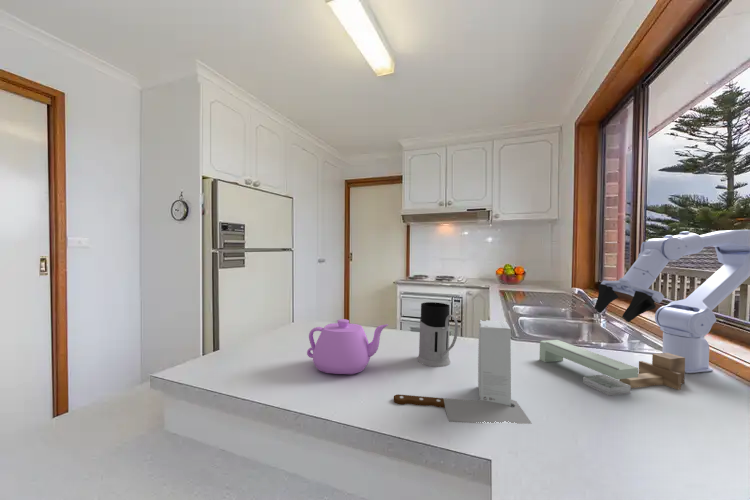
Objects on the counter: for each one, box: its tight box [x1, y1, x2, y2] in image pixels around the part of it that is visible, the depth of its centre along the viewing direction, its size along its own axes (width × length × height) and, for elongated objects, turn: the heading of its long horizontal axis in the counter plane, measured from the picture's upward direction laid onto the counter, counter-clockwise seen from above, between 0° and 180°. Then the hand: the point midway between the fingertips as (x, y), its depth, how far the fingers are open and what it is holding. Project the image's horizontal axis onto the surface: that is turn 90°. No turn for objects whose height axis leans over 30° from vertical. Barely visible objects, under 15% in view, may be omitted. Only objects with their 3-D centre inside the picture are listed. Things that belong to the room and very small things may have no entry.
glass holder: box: [417, 301, 459, 368], centre depth 79 cm, size 9×14×15 cm, turn 21°
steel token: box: [582, 374, 632, 397], centre depth 68 cm, size 6×6×2 cm
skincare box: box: [477, 319, 512, 407], centre depth 63 cm, size 8×6×15 cm
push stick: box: [618, 352, 686, 391], centre depth 71 cm, size 16×8×6 cm, turn 105°
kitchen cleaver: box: [393, 394, 533, 425], centre depth 56 cm, size 24×1×10 cm
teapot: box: [306, 318, 389, 376], centre depth 75 cm, size 20×13×12 cm, turn 85°
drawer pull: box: [539, 339, 639, 380], centre depth 76 cm, size 6×21×6 cm, turn 15°
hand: (610, 314), depth 80 cm, fingers open, 7 cm apart
